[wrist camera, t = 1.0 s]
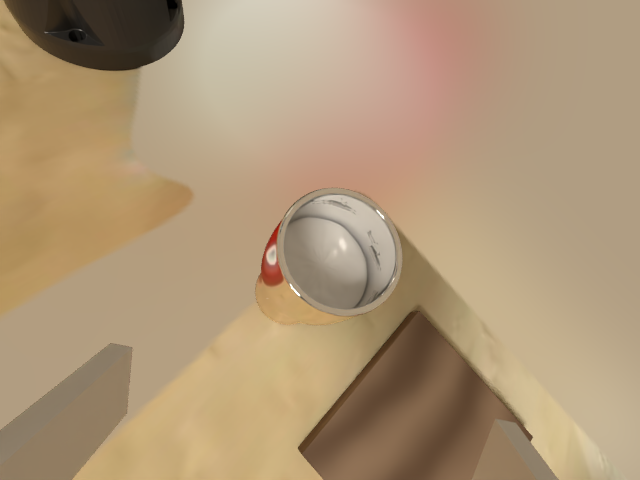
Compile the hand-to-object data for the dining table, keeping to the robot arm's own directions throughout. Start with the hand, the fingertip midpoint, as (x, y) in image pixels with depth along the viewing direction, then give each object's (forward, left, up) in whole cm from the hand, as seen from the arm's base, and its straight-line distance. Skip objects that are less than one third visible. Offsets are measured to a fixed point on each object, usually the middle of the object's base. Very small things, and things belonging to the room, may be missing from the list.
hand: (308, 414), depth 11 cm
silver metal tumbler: (-4, +6, -17) cm, 18 cm away
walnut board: (+14, +6, -17) cm, 23 cm away
